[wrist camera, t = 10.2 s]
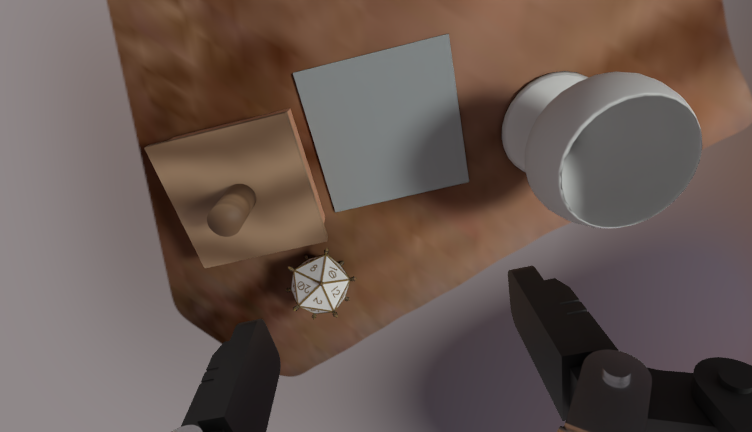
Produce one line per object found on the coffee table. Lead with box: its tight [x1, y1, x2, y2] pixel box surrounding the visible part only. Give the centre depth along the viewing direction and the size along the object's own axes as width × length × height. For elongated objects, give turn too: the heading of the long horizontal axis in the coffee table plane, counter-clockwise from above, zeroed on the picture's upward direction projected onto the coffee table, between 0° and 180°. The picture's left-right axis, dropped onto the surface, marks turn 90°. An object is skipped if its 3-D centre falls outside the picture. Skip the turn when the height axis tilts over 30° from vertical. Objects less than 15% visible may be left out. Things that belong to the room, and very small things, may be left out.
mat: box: [293, 34, 469, 212], centre depth 46 cm, size 17×17×1 cm
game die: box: [285, 248, 357, 320], centre depth 50 cm, size 9×8×10 cm
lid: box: [144, 111, 328, 268], centre depth 41 cm, size 15×15×7 cm
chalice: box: [502, 71, 702, 228], centre depth 40 cm, size 14×14×15 cm
